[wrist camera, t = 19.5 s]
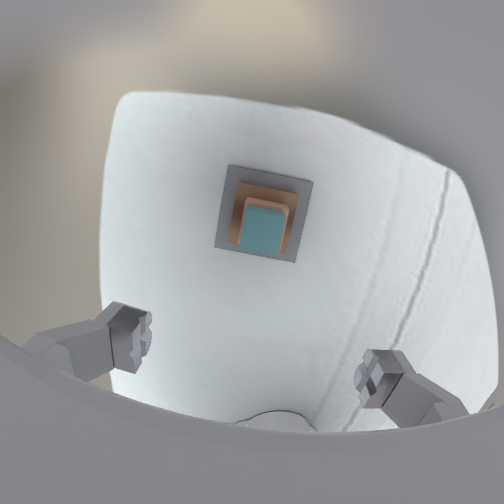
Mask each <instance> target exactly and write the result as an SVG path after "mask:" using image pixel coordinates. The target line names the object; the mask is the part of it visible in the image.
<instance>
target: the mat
mask: <svg viewBox="0 0 504 504" xmlns="http://www.w3.org/2000/svg"><path fill="white" fill-rule="evenodd" d="M238 182H244V183H249V184H255V185H260V186H265V187H270V188H275V189H280V190H284V191H289V192H294V193H297V194H299V198H298V203H297V208H296V212H295V217H294V221H293V226H292V230H291V234H290V239H289V243H288V247H287V252H286V253H282V252H279V255H278V256H274V255H269V254H263V253H258V252H253V251H247V250H242V249H239V245H240V244H236V243H231V242H228V236H229V230H230V224H231V219H232V213H233V208H234V202H235V197H236V191H237V186H238ZM312 186H313V182H309V181H305V180H300V179H296V178H291V177H287V176H282V175H277V174H272V173H268V172H262V171H257V170H252V169H246V168H241V167H235V166H228V171H227V176H226V182H225V187H224V193H223V199H222V204H221V210H220V216H219V222H218V228H217V234H216V241H215V247H216V248H222V249H227V250H232V251H237V252H242V253H247V254H252V255H258V256H263V257H268V258H273V259H278V260H283V261H289V262H294V263H295V259H296V255H297V251H298V247H299V243H300V239H301V235H302V230H303V226H304V222H305V217H306V213H307V209H308V204H309V200H310V195H311V190H312Z"/></svg>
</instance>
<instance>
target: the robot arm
mask: <svg viewBox="0 0 504 504" xmlns="http://www.w3.org/2000/svg"><path fill="white" fill-rule="evenodd" d="M151 323H152V314H151V312H150V311H146V310H143V309H139V308H136V307H133V306H129V305H126V304H123V303H119V302H116V301H114V302H112V303H111V304H110V305H109V306H108V307H107V308H105V309H104V310H103V311H102V312H101V313H100V314H99V315H98V317H96V318H95V319H94V320H93V321H92V320H86V321H82V322H78V323H74V324H70V325H66V326H62V327H58V328H54V329H50V330H46V331H42V332H38V333H36V334H35V335H34V336H33V337H32V338H30V339H29V340H28V341H27V342H26V343H25V344H24V345H23V346H22V347H19V346H17V345H16V344H14V343H12V342H11V341H9V340H8V339H6V338H4V337H3V336H2V335H0V504H504V404H503V405H500V406H497V407H494V408H491V409H488V410H484V411H481V412H478V413H474V414H469V413H468V411H467V410H466V408H465V406H464V405H463V403H462V402H461V400H460V399H459V398H457V397H456V396H454V395H453V394H451V393H449V392H448V391H446V390H445V389H443V388H441V387H440V386H438V385H437V384H435V383H433V382H432V381H430V380H429V379H427V378H425V377H424V376H422V375H421V374H416V372H415V371H414V369H413V367H412V366H411V364H410V363H409V361H408V360H407V358H406V357H405V355H404V354H403V352H402V351H400V350H375V349H367V350H366V352H365V353H364V355H363V357H362V358H363V363H362V364H360V365H359V366H358V367H357V369H356V372H355V375H354V385H355V388H356V389H357V390H358V391H359V392H360V395H359V399H360V402H361V405H362V407H363V408H381V410H382V411H383V412H384V413H385V414H386V415H387V416H388V417H389V418H390V419H391V420H392V421H393V422H394V423H395V424H396V425H397V426H398V427H399V428H397V429H388V430H376V431H360V432H316V429H315V428H313V427H311V426H310V425H309V424H308V422H307V420H306V419H305V418H304V417H302V416H300V415H298V414H295V413H291V412H284V411H275V412H268V413H263V414H260V415H257V416H255V417H253V418H252V419H250V420H246V421H241V422H238V423H236V425H235V424H229V423H223V422H217V421H212V420H207V419H202V418H198V417H193V416H189V415H185V414H181V413H177V412H173V411H169V410H166V409H162V408H158V407H155V406H152V405H148V404H145V403H142V402H139V401H136V400H133V399H130V398H127V397H124V396H121V395H119V394H116V393H113V392H111V391H108V390H105V389H103V388H100V387H98V386H95V385H93V384H91V383H88V382H89V381H91V380H93V379H95V378H97V377H98V376H100V375H102V374H104V373H106V372H108V371H110V370H112V369H114V368H117V369H120V370H124V371H127V372H130V373H134V374H135V373H136V372H137V370H138V368H139V367H140V365H141V363H142V357H143V356H146V354H147V353H148V351H149V348H150V345H151V339H152V332H151V330H150V329H149V326H150V324H151Z"/></svg>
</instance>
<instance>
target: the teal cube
mask: <svg viewBox="0 0 504 504" xmlns="http://www.w3.org/2000/svg"><path fill="white" fill-rule="evenodd" d="M285 222H286V216H285V214H284V212H283V211H278V210H272V209H267V208H262V207H256V206H251V205H248V206H247V208H246V211H245V217H244V223H243V228H242V234H241V240H240V245H239V249H242V250H247V251H253V252H258V253H263V254H269V255H274V256H278V255H279V250H280V245H281V241H282V236H283V231H284V226H285Z"/></svg>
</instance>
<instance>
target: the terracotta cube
mask: <svg viewBox="0 0 504 504" xmlns="http://www.w3.org/2000/svg"><path fill="white" fill-rule="evenodd" d="M248 205H251V206H256V207H262V208H267V209H272V210H278V211H283V212H284V214H285V216H286V222H285V226H284V231H283V236H282V241H283V237H284V232H285V228H286V223H287V219H288V214H289V208H288V207H287V205H286V204H282V203H277V202H272V201H267V200H262V199H257V198H252V197H247V199H246V200H245V205H244V210H243V215H242V221H241V226H240V232H239V237H238V242H237V244H240V240H241V234H242V228H243V223H244V217H245V211H246V208H247V206H248ZM282 241H281V245H282ZM281 245H280V250H281ZM280 250H279V252H280Z"/></svg>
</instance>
